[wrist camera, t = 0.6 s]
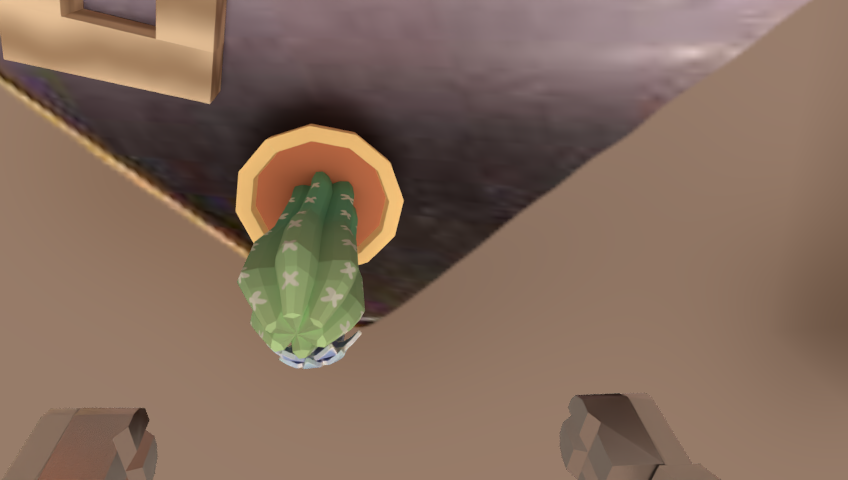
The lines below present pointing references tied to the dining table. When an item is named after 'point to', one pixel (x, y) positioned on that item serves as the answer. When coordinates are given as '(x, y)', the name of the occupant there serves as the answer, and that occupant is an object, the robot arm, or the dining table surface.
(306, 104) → the dining table surface
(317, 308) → the potted cactus
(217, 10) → the organizer block
